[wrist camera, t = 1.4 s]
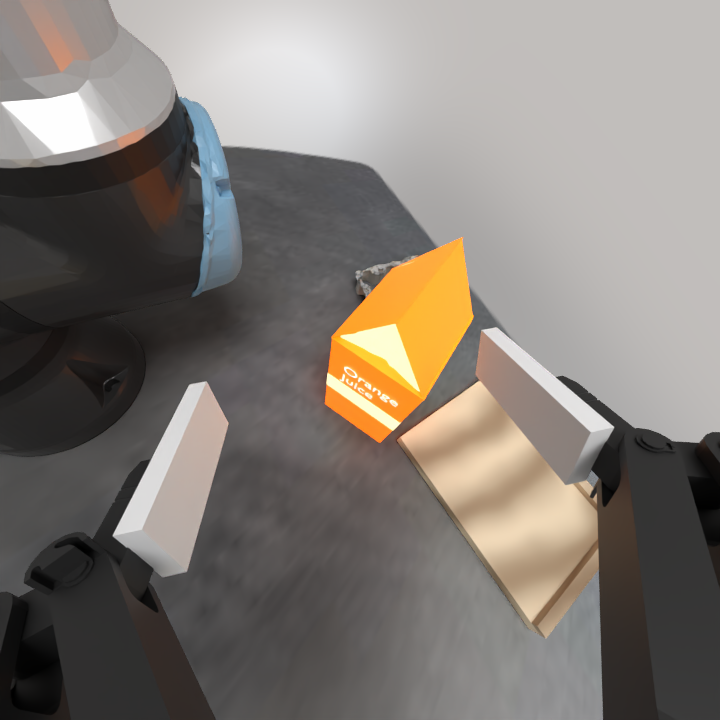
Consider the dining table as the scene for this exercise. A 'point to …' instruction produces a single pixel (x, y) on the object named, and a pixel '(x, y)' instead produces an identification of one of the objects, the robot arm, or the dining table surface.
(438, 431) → the serving board
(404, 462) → the dining table surface
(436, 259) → the orange juice
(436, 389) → the dining table surface
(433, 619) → the dining table surface
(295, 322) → the dining table surface
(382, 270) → the egg carton
